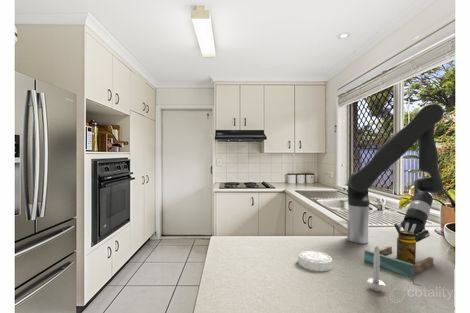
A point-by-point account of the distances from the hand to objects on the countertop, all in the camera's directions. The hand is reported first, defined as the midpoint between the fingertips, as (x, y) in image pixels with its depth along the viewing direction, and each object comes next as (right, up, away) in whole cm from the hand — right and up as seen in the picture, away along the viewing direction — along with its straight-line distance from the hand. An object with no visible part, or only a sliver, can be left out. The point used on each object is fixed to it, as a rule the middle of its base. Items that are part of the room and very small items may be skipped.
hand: (404, 247), depth 104 cm
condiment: (-3, -5, -3) cm, 6 cm away
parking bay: (-4, -5, -3) cm, 7 cm away
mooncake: (-38, -4, -7) cm, 38 cm away
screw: (-25, -4, -25) cm, 35 cm away
